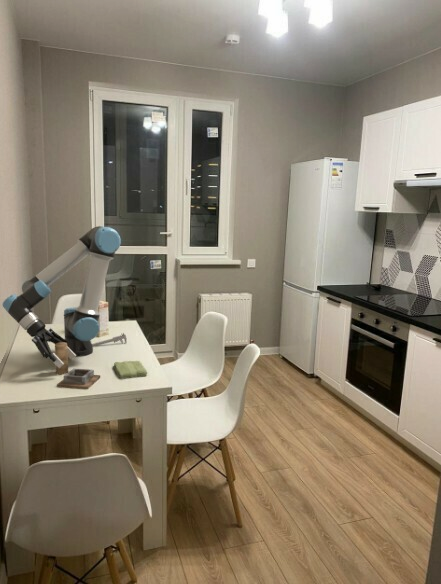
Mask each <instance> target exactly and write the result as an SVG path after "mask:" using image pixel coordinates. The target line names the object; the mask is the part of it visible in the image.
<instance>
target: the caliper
mask: <svg viewBox="0 0 441 584" xmlns="http://www.w3.org/2000/svg"><path fill="white" fill-rule="evenodd" d="M119 341H120V342H121V344H122V345H123V344H124V343H125V344H127V342H128V341H127V335H126V334H125V333H124V332H123V333H121V335H118V336H113V337H112V338H109V339H105V340H101V341H97V342H95V343H92V346H93V348H95V347H97V346H102V345H105V344H108V343H118V342H119Z"/></svg>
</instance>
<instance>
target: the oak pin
mask: <svg viewBox="0 0 441 584" xmlns="http://www.w3.org/2000/svg"><path fill="white" fill-rule="evenodd" d="M54 354H55V355H56V356H57V357H58V358H59V359H60V360H61V361H62V362H63V363H64V365H62V366H61V367H60V368H58V367H57V365H56V364H55V372H56V375H65V374H67V373H68V372H69V362H68V361H69V356H68V354H67V343H65V342H60V343H56V344H54Z"/></svg>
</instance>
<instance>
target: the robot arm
mask: <svg viewBox="0 0 441 584" xmlns="http://www.w3.org/2000/svg"><path fill="white" fill-rule="evenodd" d="M121 243H122V239H121V236H120V234H119V232H117V230H116V229H114V228H112V227H109V226H100V225H99V226H95V227H93V228H91V229H89V230H88V231H87V232H85V234H83V236H81V237H80V238H78V239H77V243H76V244H75V245H73V246H72V247H71V248H70V249H68V250H66V251H65V252H64V253H62V254H61V255H60V256H59V257H58V258H56V259H55V260H54V261H52V262H51V263H50V264H48V266H46V267H45V268H44V269H42V270H41V271H40V272H38V273H37V274H36V275H35V276H33V277H31V278H30V279H28V280H25V281H24V282H23V283H22V285H21V291H22V293H21V294H19V295H17V294H16V293H14V294H11V295H10V296H8V297H7V298H5V299H4V301H3V302H2V308H3V309H5V311H6V313H8V314H9V316H11V317H12V318H13V320H15V321H16V322H17V323H18V324H19V326H20V327H21V328H22V329H23V330H24V331H26V333H27V334H28V335H29V336H30V337H31V342H32V343H33V344H34V345H35V346H36V348H37V350H38V352H39V353H40V355H41V356H42V358H44V359H49V360H51V361H52V363H54V365H55V366H56V365H57V367H58V368H60V367H61V366H62V365H64V363H63V362H62V361H61V360H60V359H59V358H58V357H57V356H56V355H55V352H52V350H51V348H50V345H49V343H52V344H54V345H55V344H56V343H60V342H65V343H67V354H68V359H70V360H74V358H76V357H84V356H88V355H91V354H92V353H93V352H94V347H93V346H92V344H93V343H92V340H93V339H95V338H96V337H98V336H97V334H98V333H99V329H100V327H99V323H98V320H99V316H100V313H99V311H98V307H99V302H100V301H101V298H102V294H103V289H104V285H105V282H106V278H107V274H108V269H109V266H110V262H111V261H112V260H114V258H115V255H116V252H117V251H118V250H119V249H120V246H121ZM87 256H90V261H89V264H88V269H87V273H86V277H85V281H84V285H83V290H82V293H81V297H80V302H79V305H78V306H76V307H74V306H73V307H68V308H65V309H64V310H63V323H64V324H63V325H64V337H62V336H61V335H59V334H58V333H56V332H55V331H54V330H53V328H49V329H46V324H45V323H44V322H43V320H41V319H40V317H38V315H36V313H34V311H33V310H32V309H33V308H34V307H36V306H37V305H38V304H39V303H40V302H42V301H43V300H45V299H46V298H47V297H48V296H49V295H50V294H52V289H51V288H50V286H51V285H52V284H53V283H55V282H56V281H57V280H58V279H60V278H61V277H63V275H65V274H66V273H68V272H69V271H70V270H71V269H72V268H74V267H75V266H76V265H77V264H79V263H81V261H83V260H84V259H86V257H87Z"/></svg>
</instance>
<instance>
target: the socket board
mask: <svg viewBox="0 0 441 584" xmlns="http://www.w3.org/2000/svg"><path fill="white" fill-rule="evenodd" d="M100 378H101V374H95V371H94V369H89V368H87V369H86V368H72V369H71V370H70V371H69V370H68V373H66V374H63V379H62V380H61V381H59V382H58V383H57V384H56V387H58V388H69V389H79V390H88V389H89V388H91V387H92V386H93V385H94V384H95V383H96V382H97V381H98V380H100Z"/></svg>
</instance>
